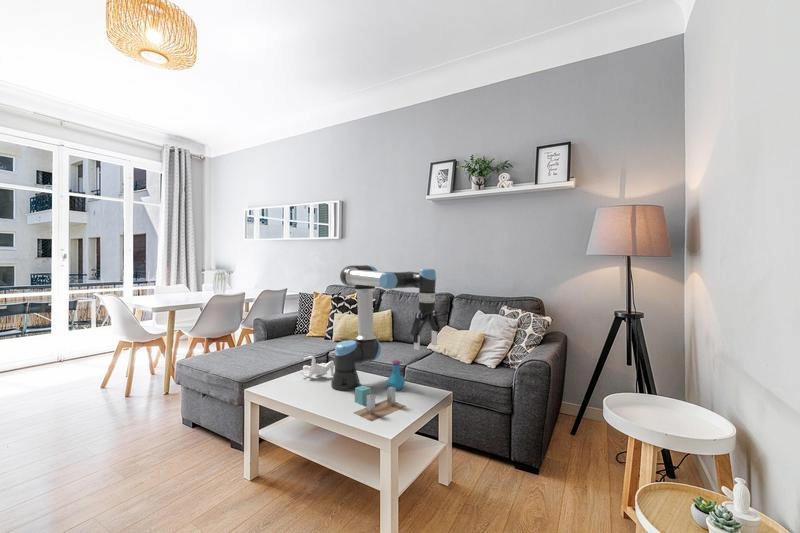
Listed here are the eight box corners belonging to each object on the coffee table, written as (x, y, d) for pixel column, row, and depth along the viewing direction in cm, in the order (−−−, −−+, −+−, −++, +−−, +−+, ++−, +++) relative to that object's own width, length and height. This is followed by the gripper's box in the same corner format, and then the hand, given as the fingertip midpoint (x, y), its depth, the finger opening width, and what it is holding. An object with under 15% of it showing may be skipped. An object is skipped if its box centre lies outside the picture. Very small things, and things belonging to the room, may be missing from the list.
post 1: (366, 413, 159) (366, 395, 159) (370, 411, 161) (371, 393, 161) (370, 415, 157) (370, 396, 157) (374, 413, 159) (375, 395, 159)
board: (352, 415, 159) (352, 412, 159) (388, 401, 176) (388, 399, 176) (371, 423, 151) (371, 421, 151) (406, 408, 167) (406, 406, 167)
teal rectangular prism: (354, 404, 171) (354, 388, 171) (363, 401, 175) (363, 385, 175) (362, 407, 168) (362, 390, 168) (370, 404, 172) (370, 388, 171)
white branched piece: (328, 353, 220) (304, 354, 206) (341, 362, 211) (317, 363, 198) (322, 374, 220) (297, 375, 206) (335, 383, 212) (310, 386, 198)
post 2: (387, 405, 168) (387, 387, 168) (391, 403, 170) (391, 386, 170) (391, 406, 167) (391, 389, 167) (395, 405, 169) (395, 387, 168)
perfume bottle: (402, 393, 186) (403, 364, 186) (385, 391, 188) (385, 363, 187) (405, 387, 195) (406, 359, 195) (389, 385, 197) (389, 358, 196)
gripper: (416, 305, 158) (415, 353, 159) (448, 300, 177) (447, 344, 177) (403, 303, 163) (402, 350, 163) (435, 299, 182) (434, 341, 182)
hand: (425, 347), depth 170 cm, fingers open, 13 cm apart
